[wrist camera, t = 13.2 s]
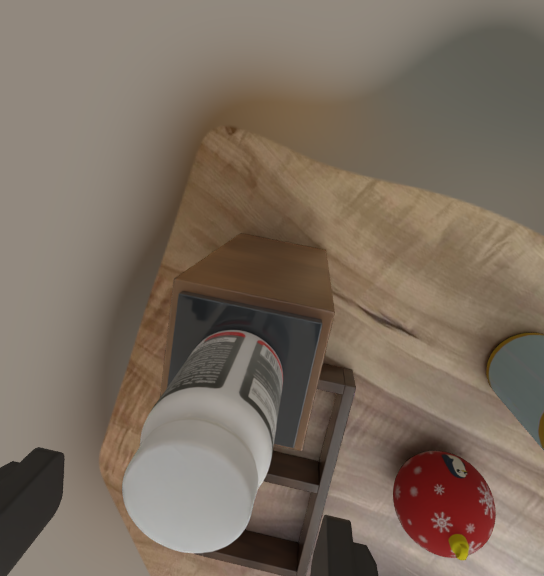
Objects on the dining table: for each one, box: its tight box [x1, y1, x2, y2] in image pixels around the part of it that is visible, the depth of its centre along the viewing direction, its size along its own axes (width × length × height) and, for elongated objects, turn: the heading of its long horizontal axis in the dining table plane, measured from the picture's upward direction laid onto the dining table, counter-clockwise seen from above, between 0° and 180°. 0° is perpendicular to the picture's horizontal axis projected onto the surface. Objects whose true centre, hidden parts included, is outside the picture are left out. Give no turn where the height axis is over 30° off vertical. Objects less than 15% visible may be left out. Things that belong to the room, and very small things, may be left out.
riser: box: [160, 233, 335, 451], centre depth 29 cm, size 8×8×18 cm
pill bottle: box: [122, 330, 283, 553], centre depth 16 cm, size 5×5×8 cm
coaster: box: [167, 291, 323, 448], centre depth 20 cm, size 7×7×1 cm
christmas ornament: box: [393, 451, 495, 560], centre depth 36 cm, size 9×9×10 cm
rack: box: [194, 364, 356, 576], centre depth 41 cm, size 12×23×4 cm, turn 170°
